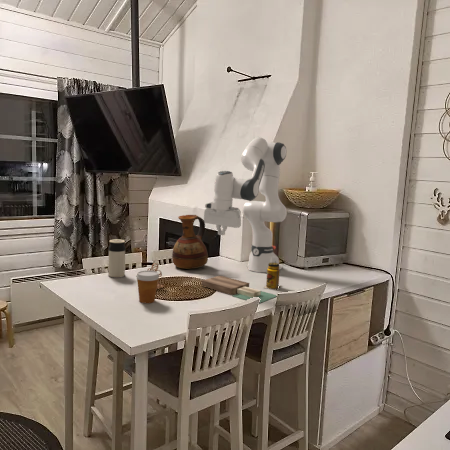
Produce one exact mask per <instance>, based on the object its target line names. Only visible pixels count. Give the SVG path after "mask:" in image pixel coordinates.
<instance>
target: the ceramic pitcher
mask: <svg viewBox="0 0 450 450" xmlns="http://www.w3.org/2000/svg"><path fill="white" fill-rule="evenodd" d="M177 219H179V220H180V222H181V224H182V226H181V228H182V236H181V237H179V238H178V239H177V240H176V242H175V244H174V246H173V249H172V253H171V254H172V255H171V257H172V258H171V259H172V263H173V265H174V266H175V267H177V268H179V269H187V270H188V269H189V270H190V269H198V268H202V267H204V266H205V265H207V264H208V261H209V255H208V249H207V247H206V245H205V244H204V242H203V237H204V234H205V230H206V223H205V222H204V218H202V217H200V216H198V215H197V214H183V215H179V216H177ZM196 220H198V222H199V228H198V232H197V235H196V234H195V231H194V223H195V221H196Z"/></svg>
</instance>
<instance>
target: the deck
mask: <svg viewBox="0 0 450 450" xmlns="http://www.w3.org/2000/svg"><path fill="white" fill-rule="evenodd" d="M201 285H203V286H206V287H208V288H211V289H214V290H213V291H215V290H216V291H215V292H219V293H222V294H226V295H229V296H233V295H236V294H238V293H237V289H238V288H241V287H249V288H250V282H247V281H243V280H240V279H236V278H235V279H234V278H232V277H228V276H223V275H217V276H213V277H209V278H206V279H205V278H204V279H202V280H201V284H200V286H201ZM208 288H207V289H208ZM211 289H210V290H211Z"/></svg>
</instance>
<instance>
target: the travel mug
mask: <svg viewBox="0 0 450 450" xmlns="http://www.w3.org/2000/svg"><path fill="white" fill-rule="evenodd" d="M108 242H109V246H108V274H107V275H108V277H110V278H113V277H114V278H124V276H125V275H126V246H125V242H126V241H125V240H124V239H120V238H119V239H116V238H115V239H110V240H109V241H108Z"/></svg>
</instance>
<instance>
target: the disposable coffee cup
mask: <svg viewBox="0 0 450 450" xmlns="http://www.w3.org/2000/svg"><path fill="white" fill-rule="evenodd" d="M159 274H160V273H159V271H157V272H156V271H155V270H154V271H147V270H139V271H138V272H136V275H135V277H136V280H137V290H138V299H139V300H138V302H139V303H142V304H152V303H153V304H154V302H155V301H156V295H157V290H156V289H157V283H158V280H159V278H160V277H159V276H160V275H159Z"/></svg>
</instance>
